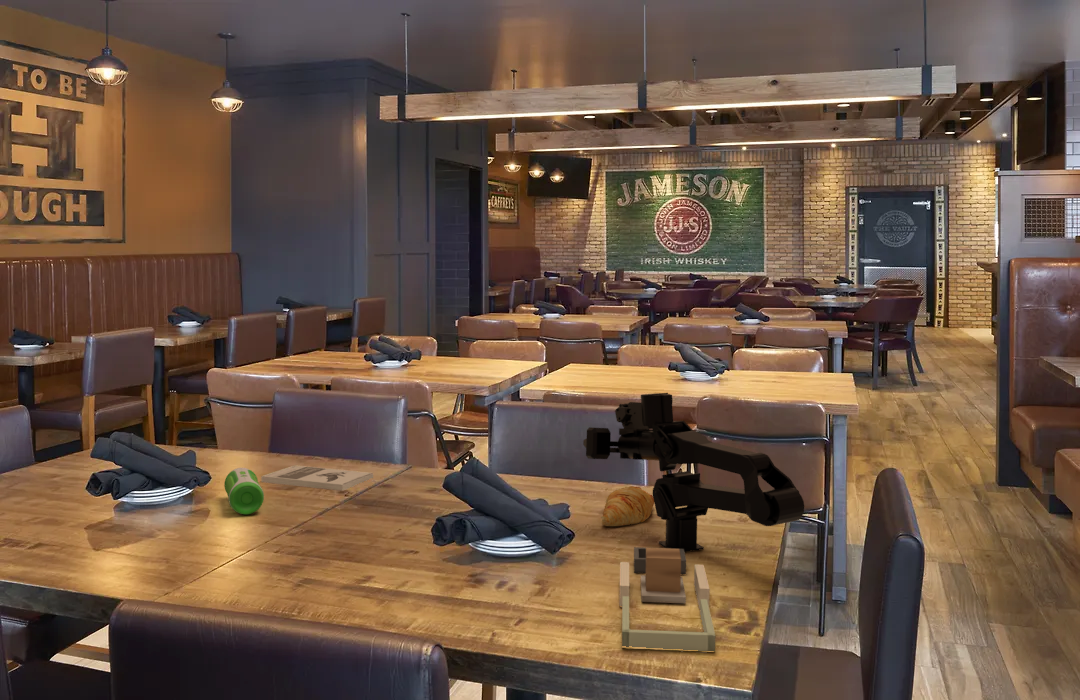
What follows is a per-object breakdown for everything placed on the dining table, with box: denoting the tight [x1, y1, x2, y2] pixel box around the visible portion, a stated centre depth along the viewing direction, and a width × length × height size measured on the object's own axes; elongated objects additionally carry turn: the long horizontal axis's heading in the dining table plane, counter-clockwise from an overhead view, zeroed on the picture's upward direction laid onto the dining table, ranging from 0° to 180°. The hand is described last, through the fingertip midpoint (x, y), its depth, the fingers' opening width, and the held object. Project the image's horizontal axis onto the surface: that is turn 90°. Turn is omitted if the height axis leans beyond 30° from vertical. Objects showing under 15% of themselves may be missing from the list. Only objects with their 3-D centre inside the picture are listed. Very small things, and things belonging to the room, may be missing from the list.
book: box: [260, 464, 374, 492], centre depth 239 cm, size 23×14×2 cm, turn 69°
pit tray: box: [633, 546, 687, 575], centre depth 173 cm, size 7×9×2 cm
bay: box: [621, 595, 716, 652], centre depth 144 cm, size 14×13×2 cm
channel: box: [619, 561, 710, 610], centre depth 159 cm, size 12×14×4 cm
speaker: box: [223, 467, 265, 516], centre depth 213 cm, size 18×7×8 cm, turn 22°
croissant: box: [601, 485, 655, 527], centre depth 206 cm, size 21×10×8 cm, turn 149°
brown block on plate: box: [640, 547, 687, 604], centre depth 160 cm, size 10×7×6 cm
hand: (601, 443), depth 205 cm, fingers open, 9 cm apart
